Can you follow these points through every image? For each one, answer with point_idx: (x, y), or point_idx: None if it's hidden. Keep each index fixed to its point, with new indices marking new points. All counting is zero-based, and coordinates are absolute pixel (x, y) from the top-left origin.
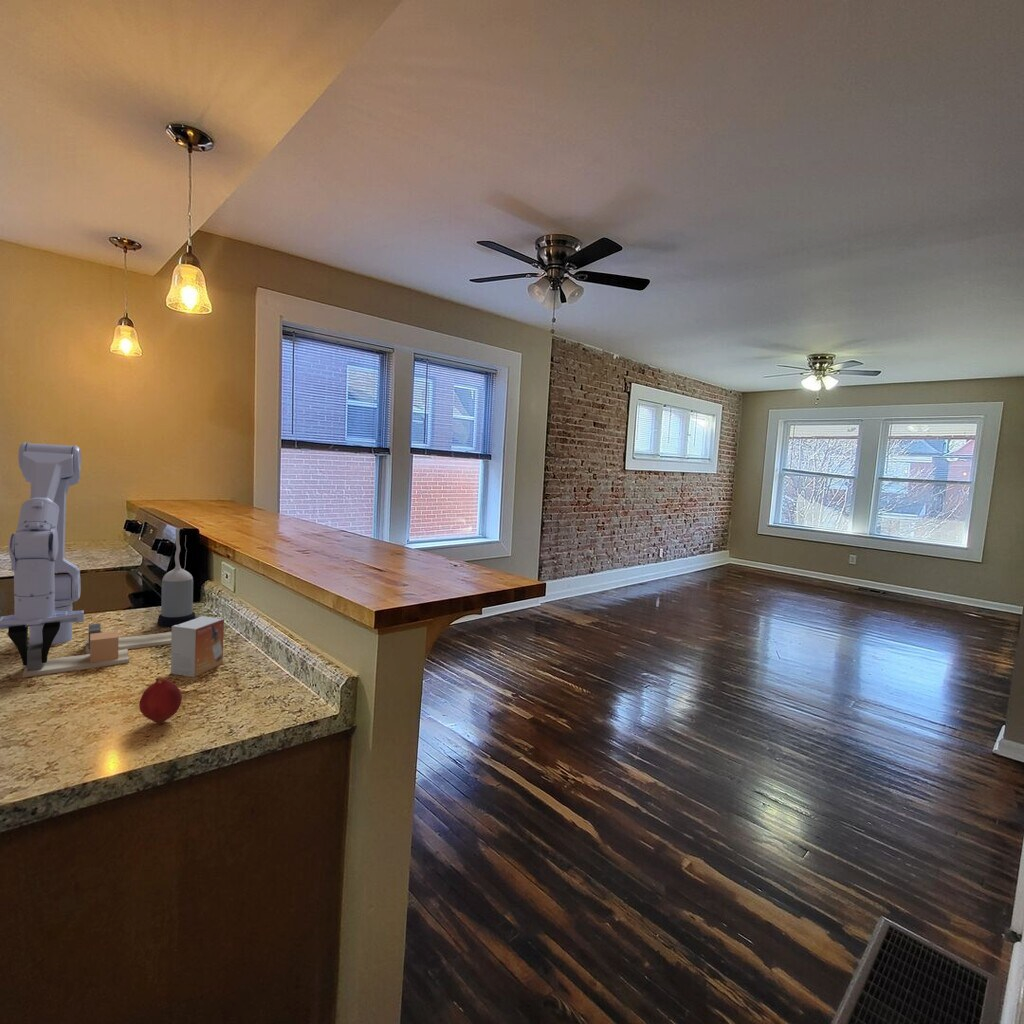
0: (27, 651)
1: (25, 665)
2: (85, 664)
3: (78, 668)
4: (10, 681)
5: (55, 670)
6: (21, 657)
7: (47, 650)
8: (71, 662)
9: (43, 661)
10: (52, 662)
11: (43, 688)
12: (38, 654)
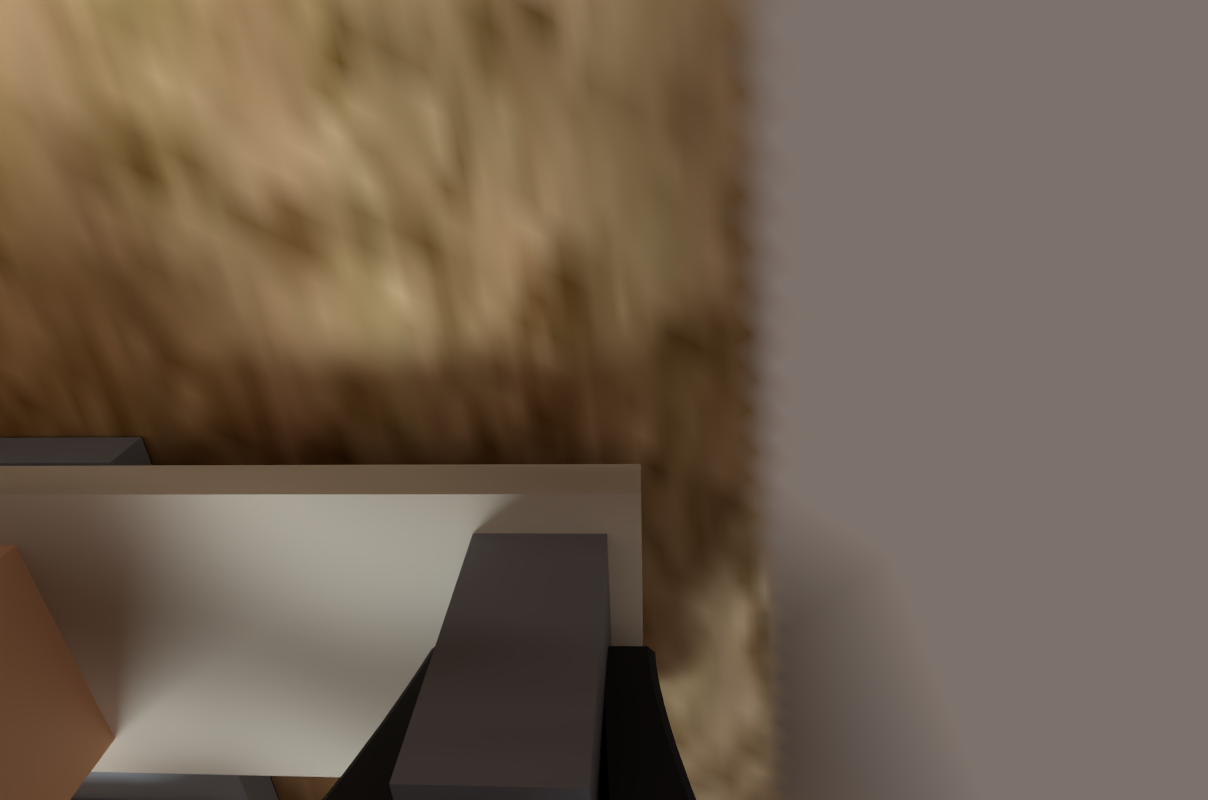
0: (583, 775)
1: None
2: (37, 501)
3: (127, 473)
4: (750, 507)
5: (336, 483)
6: (670, 732)
7: (351, 777)
8: (221, 620)
9: None
10: None
11: (410, 129)
12: (451, 702)
